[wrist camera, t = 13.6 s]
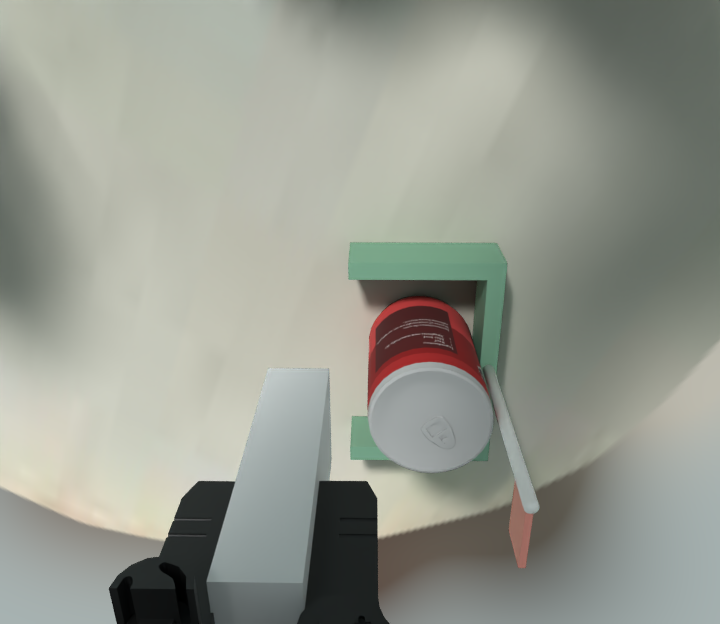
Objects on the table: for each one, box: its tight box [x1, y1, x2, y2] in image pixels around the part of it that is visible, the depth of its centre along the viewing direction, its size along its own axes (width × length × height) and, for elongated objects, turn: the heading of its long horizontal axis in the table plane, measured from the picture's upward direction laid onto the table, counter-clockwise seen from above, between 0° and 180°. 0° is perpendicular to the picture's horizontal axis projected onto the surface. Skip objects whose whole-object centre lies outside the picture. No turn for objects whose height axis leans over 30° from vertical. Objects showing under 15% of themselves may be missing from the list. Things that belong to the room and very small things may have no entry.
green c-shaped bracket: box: [348, 243, 539, 568], centre depth 42 cm, size 16×10×18 cm, turn 0°
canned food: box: [367, 296, 494, 473], centre depth 45 cm, size 8×8×11 cm
